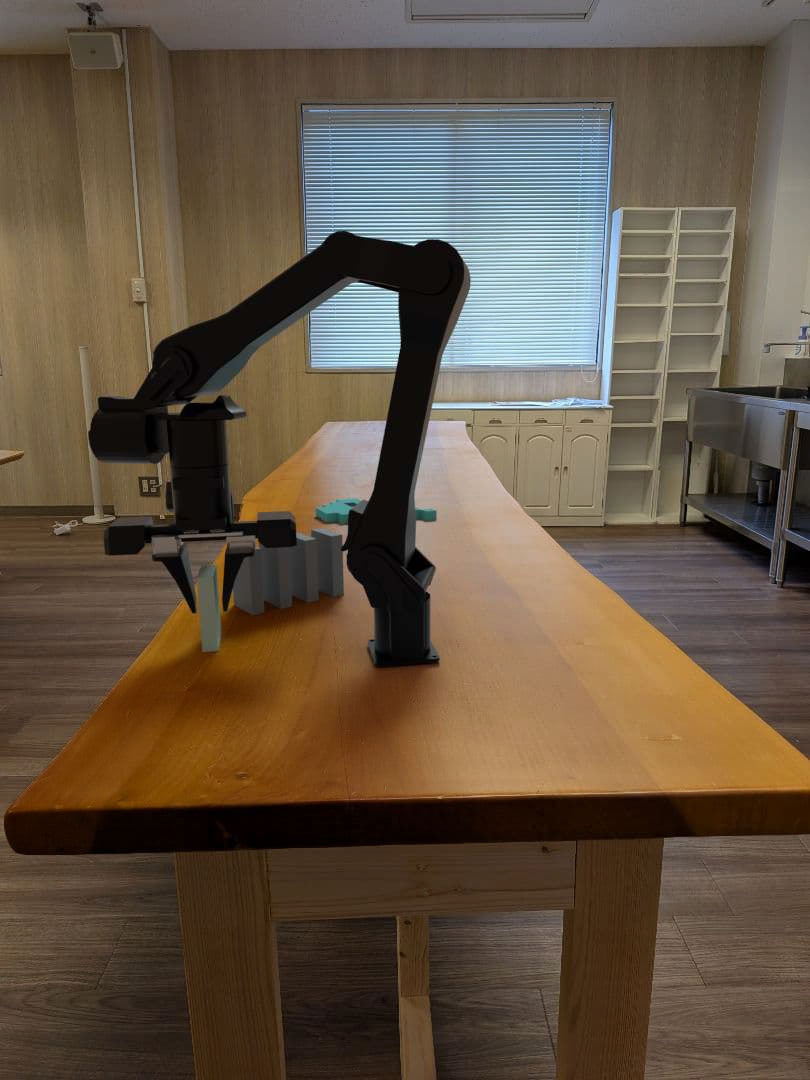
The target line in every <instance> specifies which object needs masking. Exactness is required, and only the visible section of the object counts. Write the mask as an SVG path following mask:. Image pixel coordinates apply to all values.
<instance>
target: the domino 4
mask: <svg viewBox="0 0 810 1080" xmlns="http://www.w3.org/2000/svg"><path fill="white" fill-rule="evenodd" d="M310 531H311V532H310V537H312V538H315V539H316V542H317V569H318V592H321V593H323V594H325V595H328V596H330V597H333V598H336V597H339V596H343V595H344V596H345V587H344V586H345V585H344V558H343V557H344V555H343V554H344V551H341V548H342V546H343V545H344V543H343V542H344V541H343V534H342V533H339V532H336V531H332V530H329V529H327V528H326V529H325V528H323V527H320V528H313V529H310Z"/></svg>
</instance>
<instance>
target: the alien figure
mask: <svg viewBox="0 0 810 1080" xmlns="http://www.w3.org/2000/svg"><path fill="white" fill-rule="evenodd" d="M361 501H362V500H361V499H359V498H357V497H355V498H354V497H353V498H342V499H336V500H335V501H331V502H329V503H328V504H322V506H321V507H315V517H316V516H317V517H319V518H321V519H322V521H323V520H324V521H325V522H324V521H323V522H324V523H326V522H331V523H338V524H341V525H344V524H347V525H348V514H349V510H351V509H352V508H353V507H354V506H356V505H357V504H358V503H359V502H361ZM415 513H416V520H423V521H426V522H427V521H435V520H436V519H437V510H436V509H433V508H425V509H421V508H418V507H415ZM317 517H316V518H317ZM319 518H318V519H319ZM321 519H320V520H321Z"/></svg>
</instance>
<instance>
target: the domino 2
mask: <svg viewBox="0 0 810 1080" xmlns="http://www.w3.org/2000/svg"><path fill="white" fill-rule="evenodd" d="M258 547H259V548H261V556H262V575H263V594H264V602H266V603H268V604H271V605H272V606H274V607H276V608H278V609H280V610H283V609H287V608H291V607H293V596H292V587H291V565H290V547H281V548H265V547H264V546H263V545H262V544H261V543H259V542H258Z"/></svg>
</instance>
